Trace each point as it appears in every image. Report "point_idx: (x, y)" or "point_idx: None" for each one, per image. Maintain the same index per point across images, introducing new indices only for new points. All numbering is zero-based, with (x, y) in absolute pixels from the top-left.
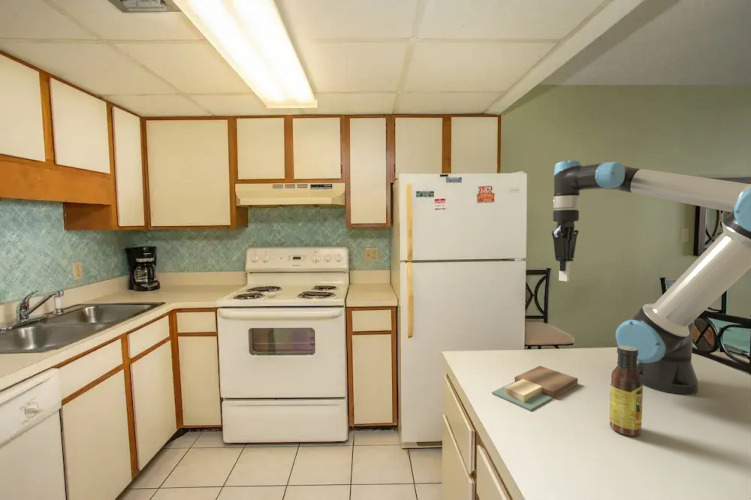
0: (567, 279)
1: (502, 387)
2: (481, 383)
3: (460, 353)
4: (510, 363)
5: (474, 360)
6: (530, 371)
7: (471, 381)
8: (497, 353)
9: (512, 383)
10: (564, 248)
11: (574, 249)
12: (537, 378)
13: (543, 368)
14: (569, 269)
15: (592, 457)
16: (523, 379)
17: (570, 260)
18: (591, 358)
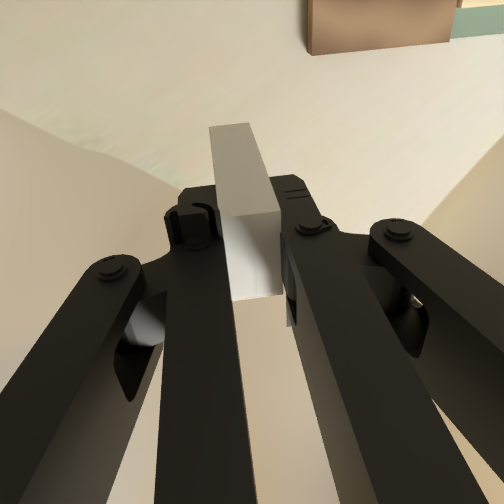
0: (242, 129)
1: (498, 33)
2: (494, 91)
3: None
4: (318, 143)
5: (373, 205)
6: (378, 41)
7: (498, 114)
8: None
9: (456, 35)
10: (403, 367)
11: (36, 371)
12: None
13: (323, 33)
14: (218, 169)
15: None
16: (463, 4)
17: (214, 220)
18: (39, 20)
